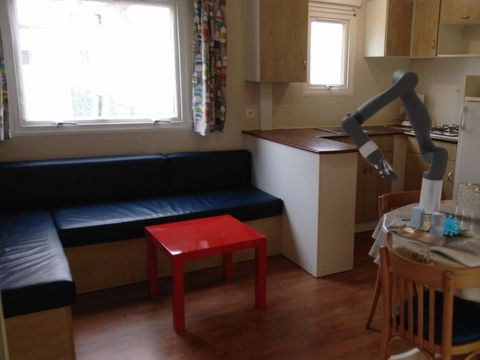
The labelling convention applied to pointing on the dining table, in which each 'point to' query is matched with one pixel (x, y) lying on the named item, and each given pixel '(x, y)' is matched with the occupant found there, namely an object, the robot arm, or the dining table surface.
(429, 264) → the dining table surface
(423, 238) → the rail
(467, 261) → the dining table surface
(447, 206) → the dining table surface
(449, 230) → the gear
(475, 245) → the dining table surface
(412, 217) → the light grey block
